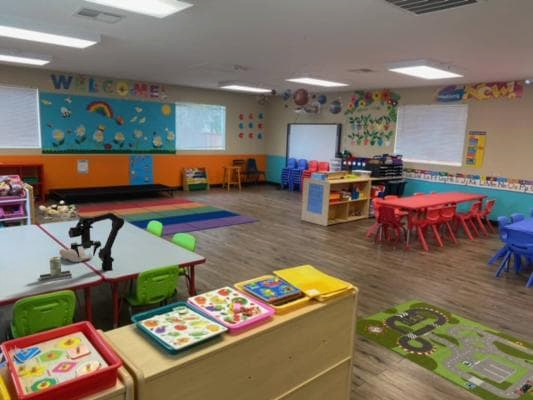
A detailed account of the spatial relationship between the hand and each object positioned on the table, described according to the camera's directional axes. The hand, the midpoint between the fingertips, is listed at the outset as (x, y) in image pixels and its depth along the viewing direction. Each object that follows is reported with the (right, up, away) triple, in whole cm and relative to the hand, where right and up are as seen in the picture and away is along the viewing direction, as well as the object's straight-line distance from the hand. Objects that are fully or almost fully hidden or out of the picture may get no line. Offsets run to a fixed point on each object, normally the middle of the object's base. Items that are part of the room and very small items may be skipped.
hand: (86, 257), depth 271 cm
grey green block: (-18, -12, -5) cm, 23 cm away
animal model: (-24, -6, +34) cm, 42 cm away
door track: (-18, -13, -5) cm, 23 cm away
